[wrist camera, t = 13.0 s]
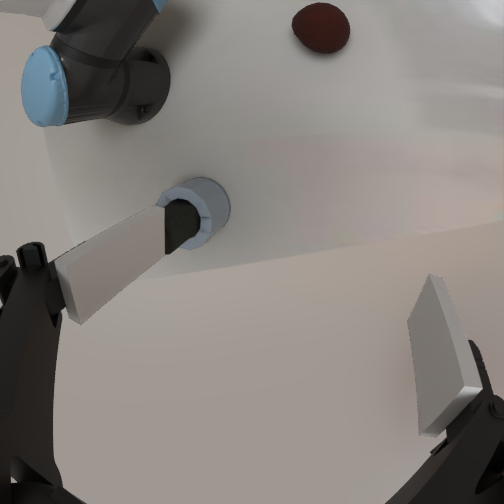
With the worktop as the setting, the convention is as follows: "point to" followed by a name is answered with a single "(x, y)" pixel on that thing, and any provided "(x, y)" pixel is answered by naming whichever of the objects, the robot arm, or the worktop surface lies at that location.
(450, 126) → the worktop surface
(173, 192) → the pale blue faceted cup
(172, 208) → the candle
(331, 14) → the potato
